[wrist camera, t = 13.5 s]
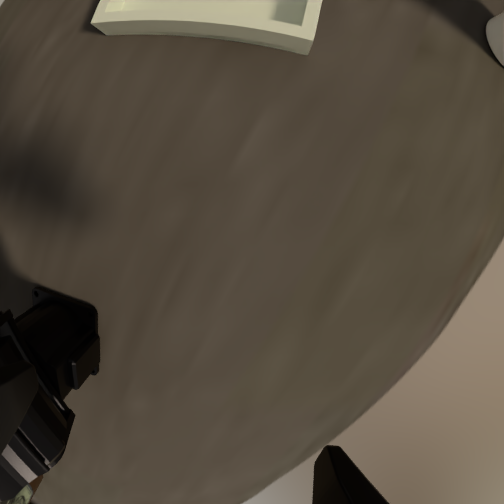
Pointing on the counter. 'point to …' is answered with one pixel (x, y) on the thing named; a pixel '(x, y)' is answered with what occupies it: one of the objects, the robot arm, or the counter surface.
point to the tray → (215, 20)
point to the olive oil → (25, 493)
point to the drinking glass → (496, 36)
